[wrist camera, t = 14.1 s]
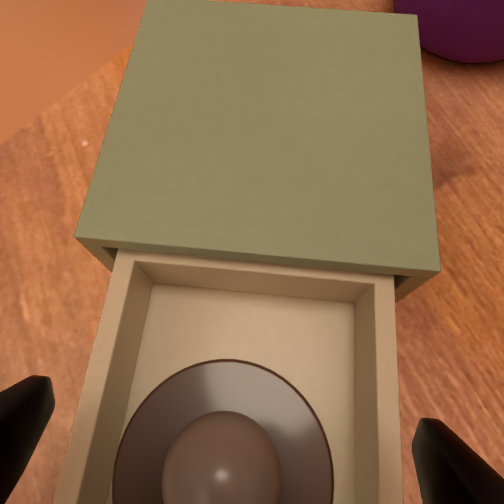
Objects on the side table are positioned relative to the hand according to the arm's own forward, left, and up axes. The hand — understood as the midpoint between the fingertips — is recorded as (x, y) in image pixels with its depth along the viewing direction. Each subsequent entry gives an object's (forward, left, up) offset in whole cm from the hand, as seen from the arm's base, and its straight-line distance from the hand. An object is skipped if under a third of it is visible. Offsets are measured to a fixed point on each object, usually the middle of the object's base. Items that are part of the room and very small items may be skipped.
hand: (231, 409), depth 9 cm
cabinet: (+7, +10, -9) cm, 15 cm away
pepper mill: (-1, -1, -7) cm, 7 cm away
